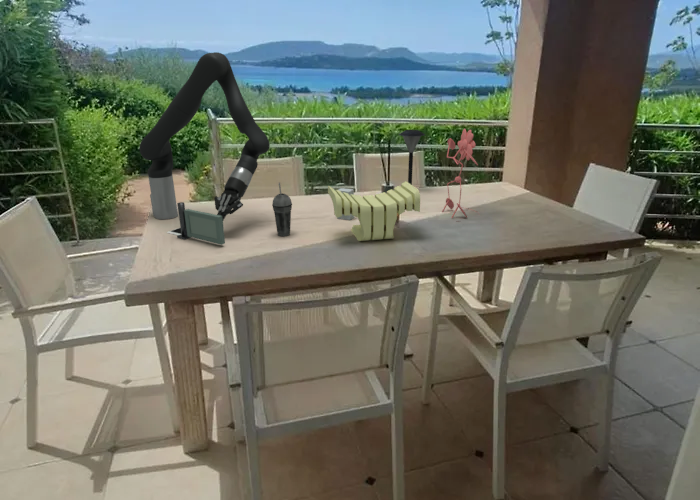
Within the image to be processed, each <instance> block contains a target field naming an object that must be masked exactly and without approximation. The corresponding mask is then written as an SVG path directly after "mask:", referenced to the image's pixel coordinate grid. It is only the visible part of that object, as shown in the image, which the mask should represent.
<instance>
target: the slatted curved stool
mask: <svg viewBox="0 0 700 500" xmlns="http://www.w3.org/2000/svg"><path fill="white" fill-rule="evenodd" d="M327 193H328V196H329V197H330V199H331V201H332V205H333V213H334V216H335V218H336V219H337V218H338V217H341V216H342V214H344V215H345V216H347V215H350V214H352V215H353V216H354V218H355V217H356V218H357V219H358V221H359V224H353V225H352V228H351V229H350V231H351V233H352V234H353V235H354V236H355V238H356V240H357V241H358V242H366V241H376V240H377V241H378V240H390V239H394V228H395V224H396V222H397V219H398V215H399V216H400V215H402V214H404V213H405V211H407V212H413V211H414V212H418V213H419V212H421V193H420V191H419V189H418V188H417V187H415V186H414V185H413V184H412V185H411V184H410V183H408V180H407V181H406V180H405V181H404V182H402V183H401V184H400V185H398V186H395V187H394V188H393V189H389V190H387V191H386V192H384V191H383V192H380V193H376V194H374V195H372V194H371V195H370V194H369V195H362V196H361V195H359V194H358V195H357V194H354V195H352V194H351V196H350V195H349V194H348V193H344V192H343V194H342V192H341V191H339V190H338V189H334V187H333V186H332V187H331V186H330V185H328V186H327Z"/></svg>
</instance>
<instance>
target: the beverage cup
mask: <svg viewBox="0 0 700 500" xmlns="http://www.w3.org/2000/svg"><path fill="white" fill-rule="evenodd" d="M278 188H279V193H278V194H276V195H275V196H274V198H273V199H272V209H273V214H274V219H275V224H276V226H275V227H276V232H277V236H278V237H289V236H290V235H291V223H292V221H291V220H292V218H291V216H292V209H293V208H292V206H293V203H292V200H291V197H290V195H288V194H286V193H282V190H281V189H282V187H281V182H278Z"/></svg>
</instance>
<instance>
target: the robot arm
mask: <svg viewBox="0 0 700 500" xmlns="http://www.w3.org/2000/svg"><path fill="white" fill-rule="evenodd" d="M235 77H236V76H235V74H234V72H233V69H232V65H231V63H230V61H229V59H228V58H227V55H225V54H224V53H221V52H219V51H217V52H208V53H204V54H203V55H201V57H200V58H199V60H198V61H197V63H196V65H195V66H194V68H193V70H192V72H191V74H190V76H189V78H188V79H187V80H186V82H185V83H184V84H183V85H182V87H181V88H180V90H179V91H178V92H177V93H176V95H175V96H174V98H173V99H172V100H171V101H170V103H169V104H168V106H167V108H166V109H165V111H164V112H163V113H162V115H161V116H160V118H159V119H158V121H157V122H156V123H155V125H154V126H153V127H152V128H151V130H149V132H148V133H147V134H146V135H145V136H144V137H143V139H141V141H140V143H139V149H138V150H139V153H140V155H141V157H142V158H143V159H144V160H147V161H152V163H151V165H150V167H148V169H147V175H148V176H147V177H148V182H149V188H150V195H149V198H150V204H151V210H152V216H153V217H154V218H155V219H157V220H168V219H169V220H170V219H174V218H177V217H179V213H178V205H177V199H176V198H177V197H176V191H175V183H174V177H173V176H174V175H173V169H174V161H173V160H174V157H173V149H172V144H171V142H170V140H171V139H172V138H173V136H175V135H176V134H177V133H178V132H180V131H181V130H182V129H184V128H185V127H186V126H188V124H189V123H190V122H191V121H192V119H193V118H194V117H195V115H196V114H197V113H198V111H199V109H200V106H201V103H202V100H203V96H204V95H205V93H206V92H207V90H208V89H209V88H210V87H211V86H212V85H213V83H215V82H217V83H218V84H219V86H220V87H221V90H222V91H223V94H224V97H225V100H226V104H227V108H228V111H229V114H230V116H231V118H232V120H233V123H234V124H235V126H236V127H237V130H238V131H239V133H241V134H243V135H246V137H247V138H248V140H246V142H245V143H244V146H243V148H242V151H241V156H240V157H239V160H238V162H237V163H236V164H235V167H234V168H233V169H232V171H231V173H230V175H229V177H228V179H227V180H226V183H225V185H224V187H223V188H224V191H223V192H222V193H221V194H220V195H219V196H214V205H215V207H214V208H215V210H217V214H216V215H220V216H222V218H223V221H225V218H226V217H227V215H232V214H234V213H235V212H237V211H238V210H239V209H241V208H242V207H243V206H244V204H243V202H242V201H241V199H242V198H243V197H244V195H245V194H246V191H247V189H248V188H249V185H250V184H251V181H252V178H253V176H254V174H255V172H256V171H257V168H258V165H259V164H258V159H259V157H260V156H261V155H263V154H265V153H267V152H268V151H269V150H270V146H271V145H270V144H271V143H270V140H269V138H268V137H267V134H266V133H265V132H264V130H262V128H261V127H260V126H259V125H258V124H257V123H256V121H255V119H254V117H253V115H252V112H251V111H250V110H249V107H248V105H247V103H246V101H245V99H244V97H243V95H242V93H241V90H240V87H239V85H238V81H237V80H236V78H235Z"/></svg>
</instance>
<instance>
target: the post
mask: <svg viewBox="0 0 700 500" xmlns="http://www.w3.org/2000/svg"><path fill="white" fill-rule="evenodd" d="M176 204H177V212H178V219H179V225H180V226H179V228H180V227H181V235H176V238H177V239H181V240H184V241H185V240H188V239H191V238H192V237H188V236H187V228H186V221H185V213H184V210H186V207H185V206H186V205H185V202H182V201H180V202H176Z"/></svg>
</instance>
